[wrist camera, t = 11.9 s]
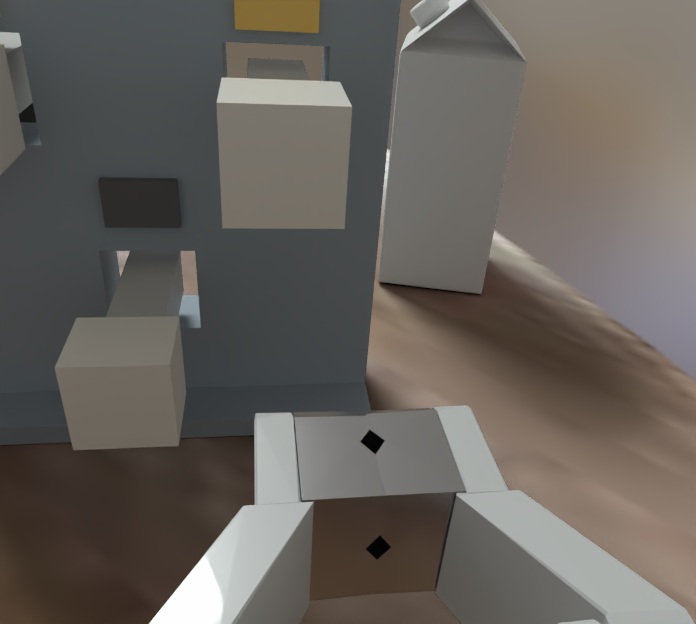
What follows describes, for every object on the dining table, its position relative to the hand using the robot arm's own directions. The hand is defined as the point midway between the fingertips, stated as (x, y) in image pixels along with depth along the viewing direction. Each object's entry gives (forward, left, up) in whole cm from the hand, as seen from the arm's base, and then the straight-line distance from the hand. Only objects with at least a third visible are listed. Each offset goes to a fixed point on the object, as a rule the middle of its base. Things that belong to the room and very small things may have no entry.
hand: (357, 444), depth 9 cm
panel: (-6, +20, -15) cm, 26 cm away
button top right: (-1, +16, -2) cm, 16 cm away
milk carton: (+11, +33, -15) cm, 38 cm away
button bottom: (-6, +16, -10) cm, 20 cm away
